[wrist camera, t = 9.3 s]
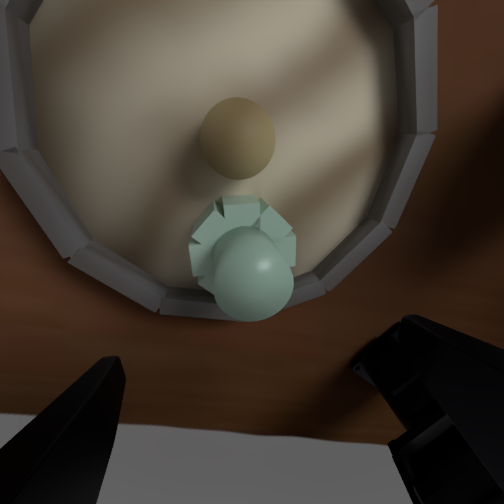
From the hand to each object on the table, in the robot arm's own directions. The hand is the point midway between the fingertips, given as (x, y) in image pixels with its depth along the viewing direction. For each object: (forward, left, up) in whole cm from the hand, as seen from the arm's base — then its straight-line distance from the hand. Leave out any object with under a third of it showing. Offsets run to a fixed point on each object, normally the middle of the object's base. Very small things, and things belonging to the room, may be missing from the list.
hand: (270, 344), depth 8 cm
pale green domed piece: (0, 0, -10) cm, 10 cm away
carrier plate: (+4, -4, -11) cm, 12 cm away
